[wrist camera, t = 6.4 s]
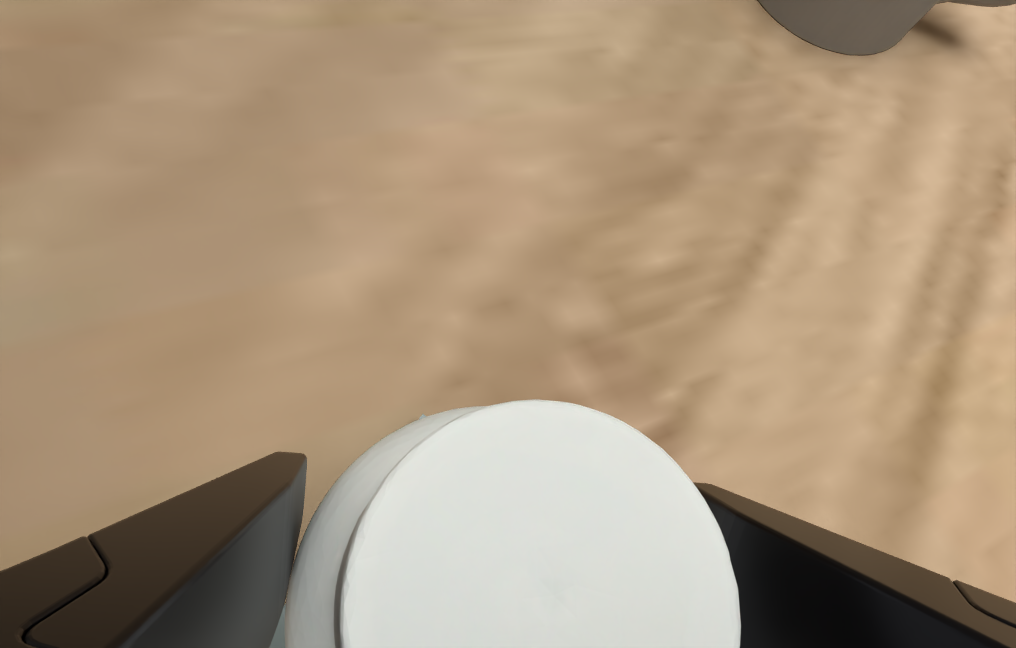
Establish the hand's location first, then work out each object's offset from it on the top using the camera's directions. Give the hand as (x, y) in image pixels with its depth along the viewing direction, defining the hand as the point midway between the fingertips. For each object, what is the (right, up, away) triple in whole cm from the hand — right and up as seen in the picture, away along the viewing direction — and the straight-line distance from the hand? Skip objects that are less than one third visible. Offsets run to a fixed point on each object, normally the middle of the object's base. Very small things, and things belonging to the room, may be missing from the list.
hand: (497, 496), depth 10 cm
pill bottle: (-2, -4, +6) cm, 7 cm away
